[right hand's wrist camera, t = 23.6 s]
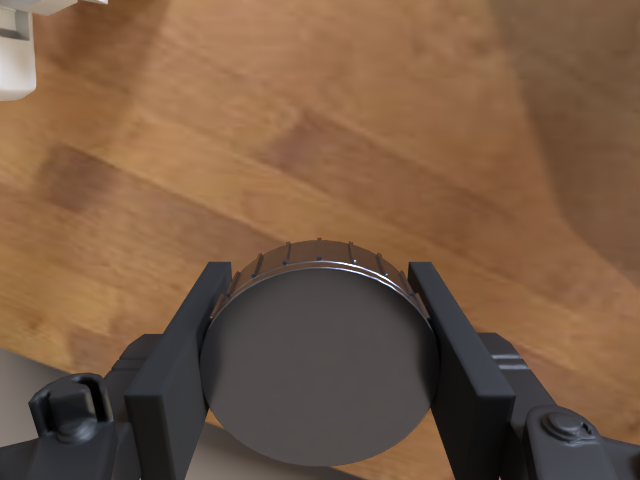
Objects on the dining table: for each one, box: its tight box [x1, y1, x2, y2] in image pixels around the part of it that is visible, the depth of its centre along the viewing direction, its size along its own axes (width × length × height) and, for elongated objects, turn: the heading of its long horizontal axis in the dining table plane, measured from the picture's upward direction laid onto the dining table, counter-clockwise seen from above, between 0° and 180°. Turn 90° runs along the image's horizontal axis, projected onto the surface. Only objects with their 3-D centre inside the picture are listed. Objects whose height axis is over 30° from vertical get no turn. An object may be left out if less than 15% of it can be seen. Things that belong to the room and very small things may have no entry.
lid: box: [199, 238, 440, 467], centre depth 11 cm, size 6×6×2 cm
